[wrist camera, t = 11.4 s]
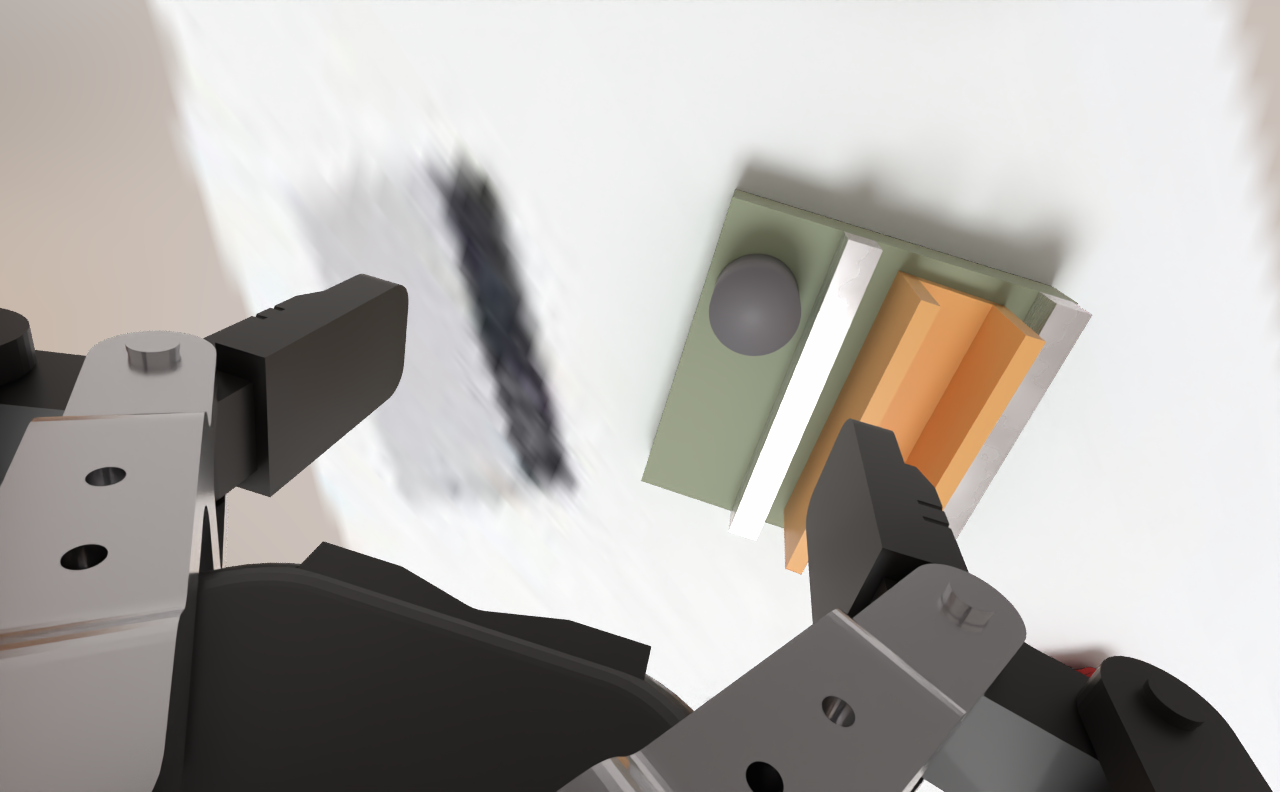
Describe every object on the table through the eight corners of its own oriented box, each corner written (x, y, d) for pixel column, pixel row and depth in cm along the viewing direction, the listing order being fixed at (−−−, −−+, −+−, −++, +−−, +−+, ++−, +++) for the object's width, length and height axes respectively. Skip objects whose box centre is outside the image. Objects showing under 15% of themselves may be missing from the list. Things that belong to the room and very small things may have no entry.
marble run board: (735, 189, 33) (728, 206, 27) (1052, 286, 32) (1109, 324, 27) (649, 455, 40) (631, 510, 34) (908, 540, 39) (930, 611, 34)
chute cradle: (844, 231, 30) (848, 239, 28) (1072, 301, 29) (1092, 314, 27) (730, 510, 37) (728, 531, 35) (914, 571, 36) (921, 596, 34)
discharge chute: (898, 270, 30) (921, 300, 26) (1004, 305, 30) (1046, 341, 25) (783, 510, 36) (785, 568, 32) (871, 541, 36) (885, 604, 31)
